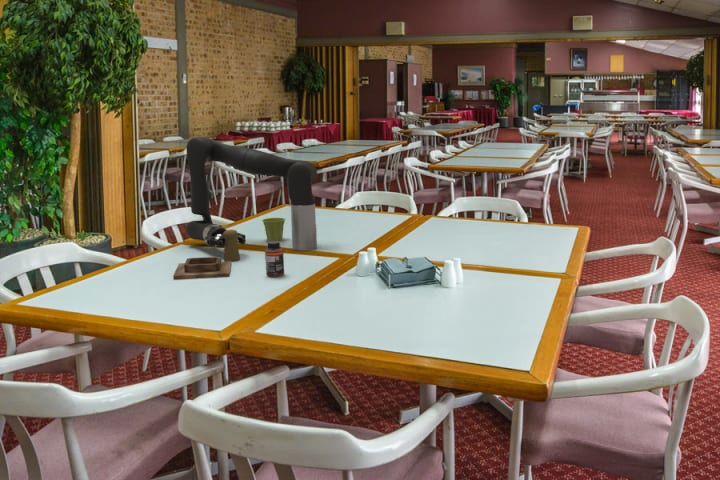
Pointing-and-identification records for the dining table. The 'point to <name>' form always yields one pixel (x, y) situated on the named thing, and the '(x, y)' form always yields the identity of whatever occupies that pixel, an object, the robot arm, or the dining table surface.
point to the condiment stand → (203, 268)
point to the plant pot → (274, 228)
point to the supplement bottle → (274, 259)
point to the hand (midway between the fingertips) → (233, 242)
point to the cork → (231, 246)
